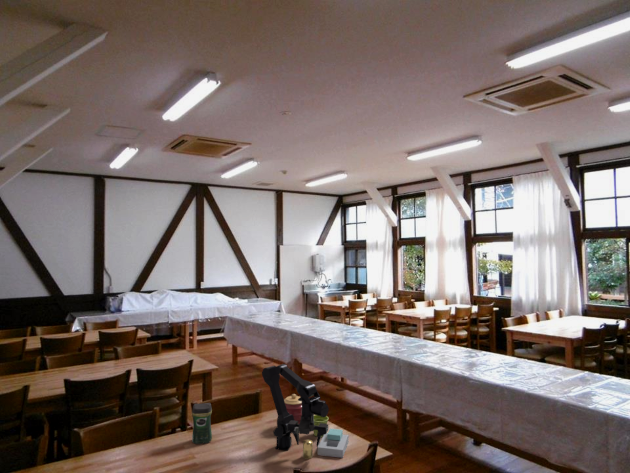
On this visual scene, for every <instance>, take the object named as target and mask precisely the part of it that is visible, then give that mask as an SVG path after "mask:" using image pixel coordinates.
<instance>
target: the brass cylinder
mask: <svg viewBox="0 0 630 473" xmlns="http://www.w3.org/2000/svg"><path fill="white" fill-rule="evenodd" d="M313 443H314V442H313V440H311V439H304V440H303V441H302V458H303V459H304V460H310V459H312V458H313V452H314V450H313V446H314V445H313Z"/></svg>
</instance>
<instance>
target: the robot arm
mask: <svg viewBox="0 0 630 473" xmlns="http://www.w3.org/2000/svg"><path fill="white" fill-rule="evenodd" d="M261 375H262V378H263V381H264V383H265V384H267V385H268V387H269V389H270V394H271V397H272V400H273V404H274V407H275V410H276V413H277V418H276V425H277V426H276V428H275V429H274V430H273V436H274V437H276V446H275V448H274V449H275V450H280V451H289V450H290V448H291V447H292V442H293V441H292V435H293V436H294V439H295V442H296V445H297V446H298V445H299V444H300V435H309V434H310V433H311V432H313V431H314V430H318V433H317V436H316V448H318V446H319V444H320V442H321V439H322V437H321V436H323V435H324V434H326V433H328V432H329V424H328V423H327V424H324V423H320V424H319V426H317V425H314V415H318V416H321V417H326V416H327V417H328V414H329V409H330V408H329V406H328V404H327V401H325V400H321V398H322V397H321V395H320V394H319V392H318V390H317V388H316V385H315V384H314V383H313V382H311V381H309V380H305V379H303V378H302V377H300V376H299V375H298V374H297V373H295V372H294V371H293V370H292V369H291V368H290V367H288V365H287V364H286V363H282V364H279V365H277V366H276V365H272V366H267V367H264V368H263V369H262V371H261ZM281 376H282V378H284V380H285V379H286V381H288V382H289V383H290V384H291V385H292V386H293V387H295V389H296V392H297V394H298V395H299V397H300V398H299V399H298V401H301V402H302V415H301V420H300V424H298V421H295V420H294V416H293V414H291V415H290V414H289V413H288V411H287V408H286V405H285V402H284V399H285V398H284V395H283V392H282V389H281V386H280V378H281ZM291 434H292V435H291ZM299 434H300V435H299Z"/></svg>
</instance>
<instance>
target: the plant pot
mask: <svg viewBox="0 0 630 473" xmlns="http://www.w3.org/2000/svg"><path fill="white" fill-rule="evenodd" d="M329 420H330V419H329V417H328V415H327V416H326V417H321V416H318V415H315V414H314V425H317V426H319V424H320V423H324V424H328V421H329ZM312 432H313V436H315V437H317V433H318V430H314V431H312ZM323 436H324V435H323ZM323 436H321V438H323Z"/></svg>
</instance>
